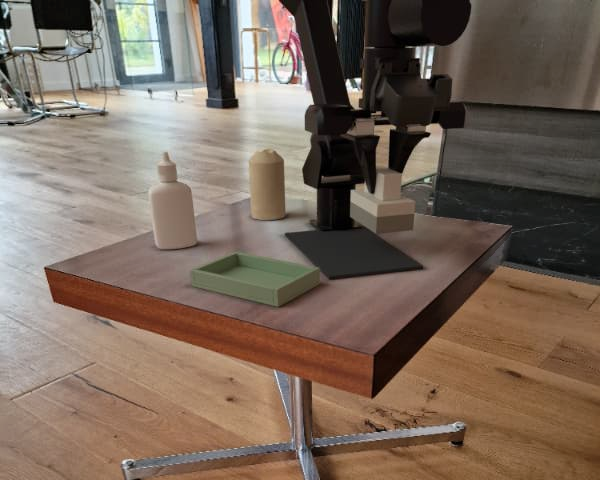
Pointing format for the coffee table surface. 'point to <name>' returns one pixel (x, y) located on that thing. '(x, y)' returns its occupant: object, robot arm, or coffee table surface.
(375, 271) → the mat
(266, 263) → the tray
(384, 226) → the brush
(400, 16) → the robot arm
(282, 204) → the candle
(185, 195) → the eye dropper bottle
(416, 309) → the coffee table surface
